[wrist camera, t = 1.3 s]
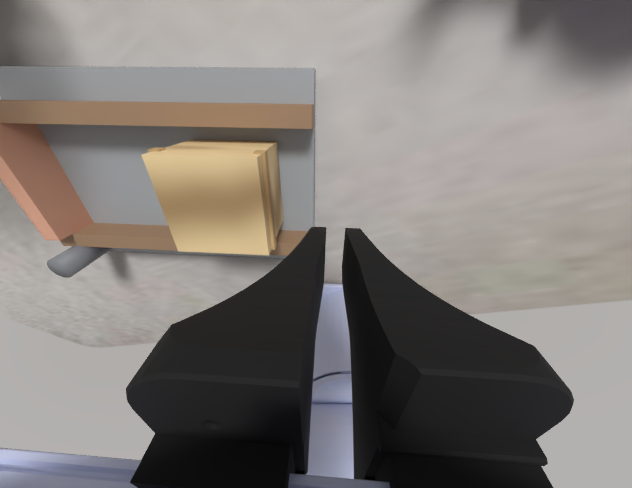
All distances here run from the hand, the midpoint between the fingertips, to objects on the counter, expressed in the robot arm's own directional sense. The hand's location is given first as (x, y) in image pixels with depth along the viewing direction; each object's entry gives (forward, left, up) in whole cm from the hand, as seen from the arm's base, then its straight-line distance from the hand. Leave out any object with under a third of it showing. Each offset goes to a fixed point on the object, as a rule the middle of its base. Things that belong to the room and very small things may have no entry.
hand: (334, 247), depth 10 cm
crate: (0, +7, -8) cm, 11 cm away
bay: (0, +12, -9) cm, 15 cm away
